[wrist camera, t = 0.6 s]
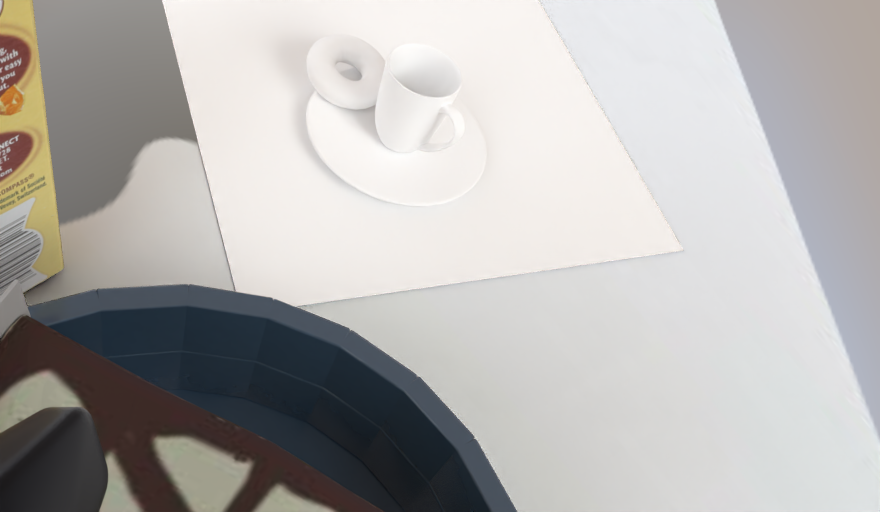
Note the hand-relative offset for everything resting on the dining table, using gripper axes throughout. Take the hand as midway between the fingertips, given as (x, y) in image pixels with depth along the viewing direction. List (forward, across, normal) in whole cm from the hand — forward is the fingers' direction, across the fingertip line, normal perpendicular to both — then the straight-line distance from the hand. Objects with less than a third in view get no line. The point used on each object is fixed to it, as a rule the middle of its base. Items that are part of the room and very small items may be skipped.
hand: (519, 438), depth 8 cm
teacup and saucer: (+30, +4, +5) cm, 30 cm away
